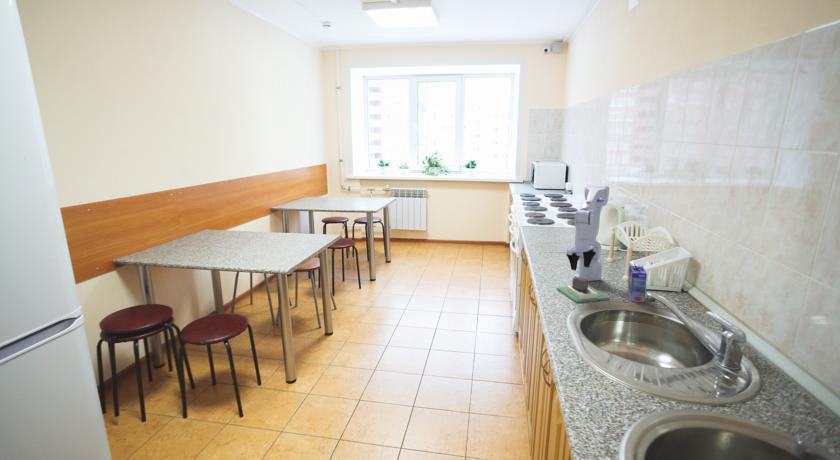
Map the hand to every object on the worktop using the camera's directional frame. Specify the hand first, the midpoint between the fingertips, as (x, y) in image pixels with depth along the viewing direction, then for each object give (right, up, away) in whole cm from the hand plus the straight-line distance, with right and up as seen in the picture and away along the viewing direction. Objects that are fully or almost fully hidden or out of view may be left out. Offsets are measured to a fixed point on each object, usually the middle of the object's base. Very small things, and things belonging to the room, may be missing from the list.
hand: (580, 268), depth 174 cm
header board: (-1, -11, -4) cm, 11 cm away
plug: (-2, -10, -4) cm, 11 cm away
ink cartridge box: (+20, -11, -8) cm, 24 cm away
